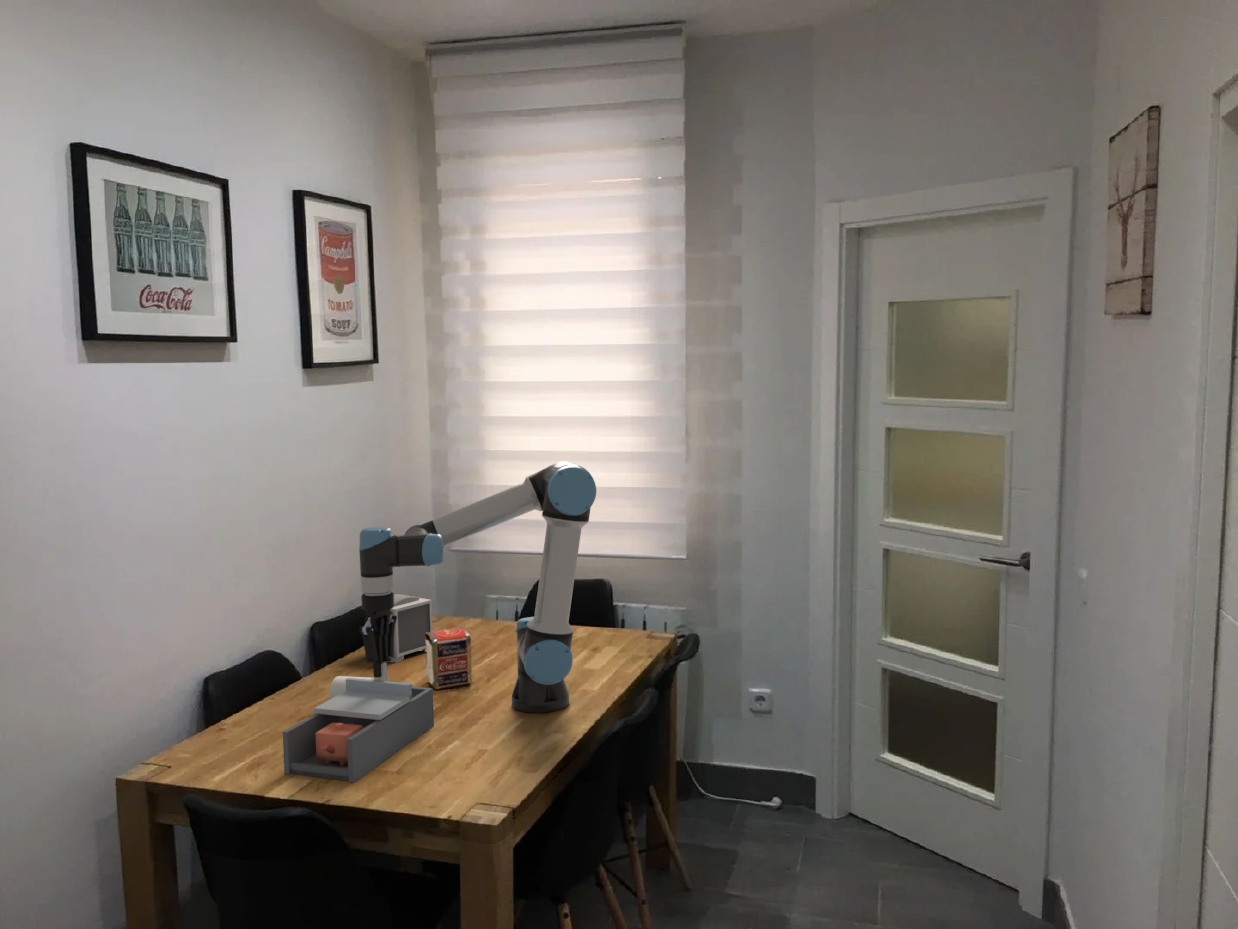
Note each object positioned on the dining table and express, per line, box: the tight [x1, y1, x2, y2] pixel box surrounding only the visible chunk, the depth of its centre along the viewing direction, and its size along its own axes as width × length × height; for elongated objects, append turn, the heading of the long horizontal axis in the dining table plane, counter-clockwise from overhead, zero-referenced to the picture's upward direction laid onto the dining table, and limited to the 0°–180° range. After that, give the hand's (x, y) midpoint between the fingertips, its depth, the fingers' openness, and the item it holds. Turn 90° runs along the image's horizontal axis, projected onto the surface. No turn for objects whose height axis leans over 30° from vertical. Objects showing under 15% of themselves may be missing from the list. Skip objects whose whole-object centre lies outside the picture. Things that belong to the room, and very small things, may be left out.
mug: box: [328, 675, 374, 700], centre depth 256 cm, size 12×10×8 cm
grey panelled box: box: [387, 593, 434, 663], centre depth 304 cm, size 18×13×18 cm
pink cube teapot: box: [315, 723, 364, 765], centre depth 215 cm, size 8×12×8 cm, turn 164°
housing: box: [282, 686, 435, 784], centre depth 225 cm, size 17×35×10 cm, turn 162°
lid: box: [313, 678, 413, 720], centre depth 225 cm, size 17×14×4 cm
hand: (380, 688), depth 232 cm, fingers closed
